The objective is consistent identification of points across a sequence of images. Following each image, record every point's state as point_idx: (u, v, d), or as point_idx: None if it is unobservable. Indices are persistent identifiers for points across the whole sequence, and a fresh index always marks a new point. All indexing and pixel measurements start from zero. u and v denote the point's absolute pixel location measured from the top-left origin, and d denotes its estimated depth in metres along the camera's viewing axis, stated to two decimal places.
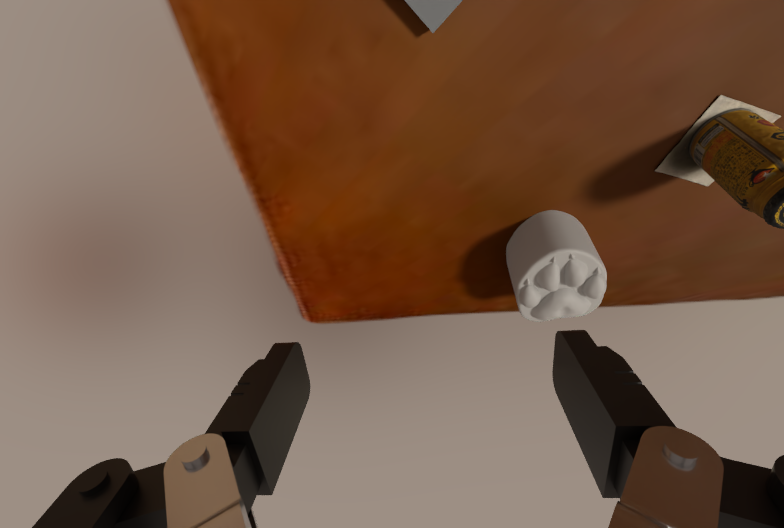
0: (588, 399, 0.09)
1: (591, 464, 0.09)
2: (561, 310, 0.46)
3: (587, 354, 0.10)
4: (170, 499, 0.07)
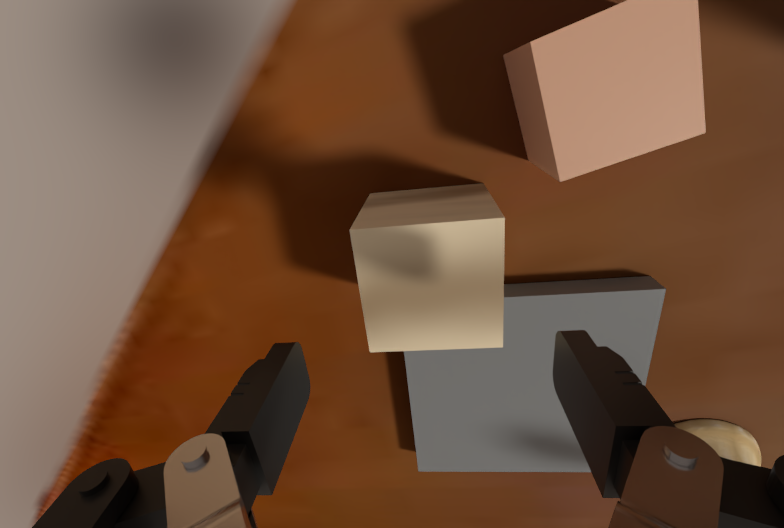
0: (588, 399, 0.09)
1: (591, 464, 0.09)
2: None
3: (587, 354, 0.10)
4: (170, 499, 0.07)
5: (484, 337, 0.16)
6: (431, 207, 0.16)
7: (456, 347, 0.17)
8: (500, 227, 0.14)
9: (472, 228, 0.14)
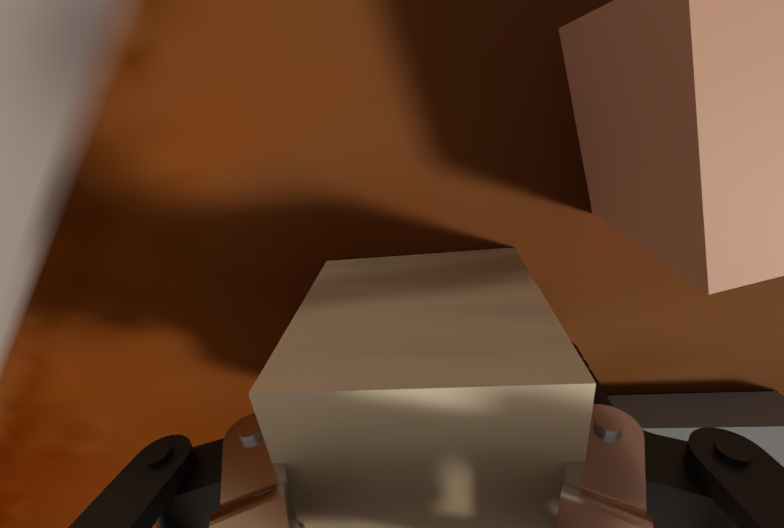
0: None
1: None
2: None
3: None
4: (225, 470, 0.07)
5: None
6: (427, 320, 0.08)
7: None
8: (583, 401, 0.06)
9: (519, 401, 0.06)
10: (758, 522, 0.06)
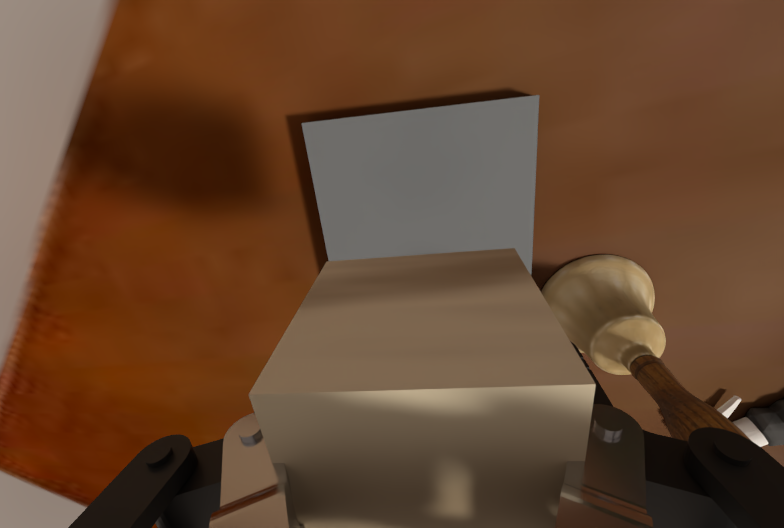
0: None
1: None
2: None
3: None
4: (226, 470, 0.07)
5: None
6: (426, 321, 0.08)
7: None
8: (583, 402, 0.06)
9: (518, 401, 0.06)
10: (757, 522, 0.06)
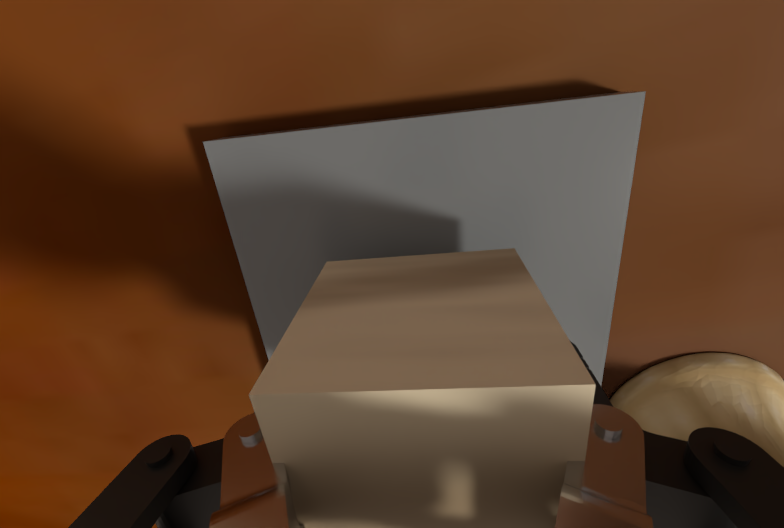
0: None
1: None
2: None
3: None
4: (226, 470, 0.07)
5: None
6: (427, 321, 0.08)
7: None
8: (583, 402, 0.06)
9: (518, 402, 0.06)
10: (758, 522, 0.06)
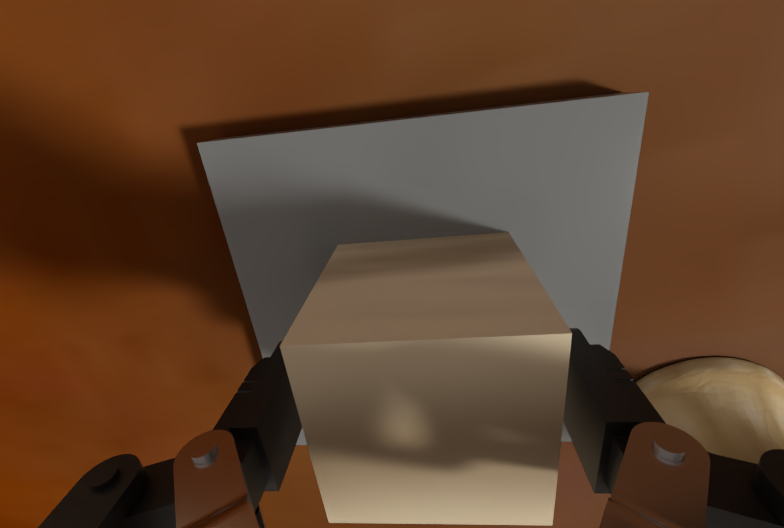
0: (580, 396, 0.09)
1: (583, 460, 0.09)
2: None
3: (580, 352, 0.10)
4: (179, 494, 0.07)
5: (521, 511, 0.10)
6: (430, 290, 0.10)
7: (473, 521, 0.10)
8: (562, 349, 0.07)
9: (508, 349, 0.08)
10: None
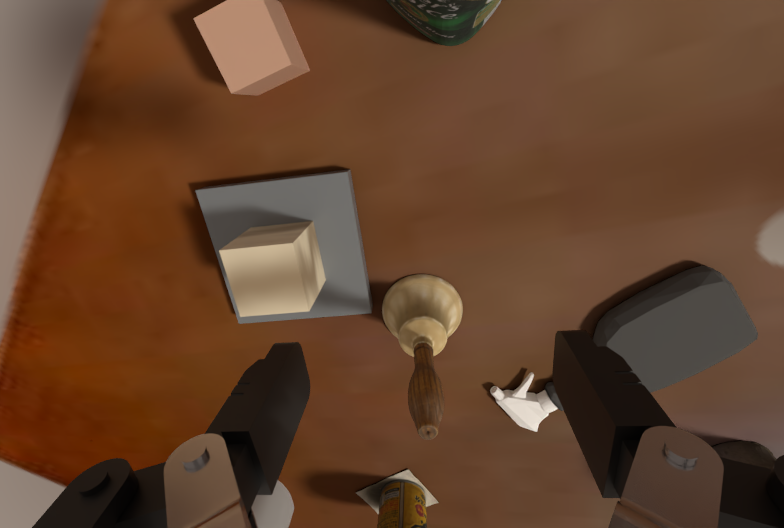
0: (588, 399, 0.09)
1: (591, 464, 0.09)
2: None
3: (587, 354, 0.10)
4: (170, 499, 0.07)
5: (298, 306, 0.31)
6: (268, 237, 0.31)
7: (285, 312, 0.31)
8: (292, 247, 0.29)
9: (278, 248, 0.29)
10: None
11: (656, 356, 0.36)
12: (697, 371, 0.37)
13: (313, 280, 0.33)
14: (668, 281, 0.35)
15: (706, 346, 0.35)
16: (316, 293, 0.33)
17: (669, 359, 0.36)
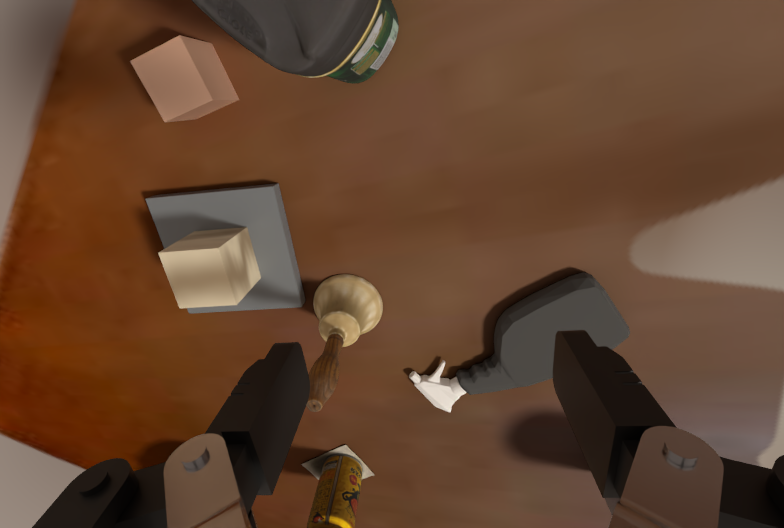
0: (588, 399, 0.09)
1: (591, 464, 0.09)
2: None
3: (587, 354, 0.10)
4: (170, 499, 0.07)
5: (227, 300, 0.36)
6: (203, 242, 0.36)
7: (217, 305, 0.36)
8: (218, 252, 0.34)
9: (207, 252, 0.34)
10: None
11: (544, 349, 0.42)
12: None
13: (244, 278, 0.38)
14: (553, 285, 0.40)
15: None
16: (247, 289, 0.39)
17: None
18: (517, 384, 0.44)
